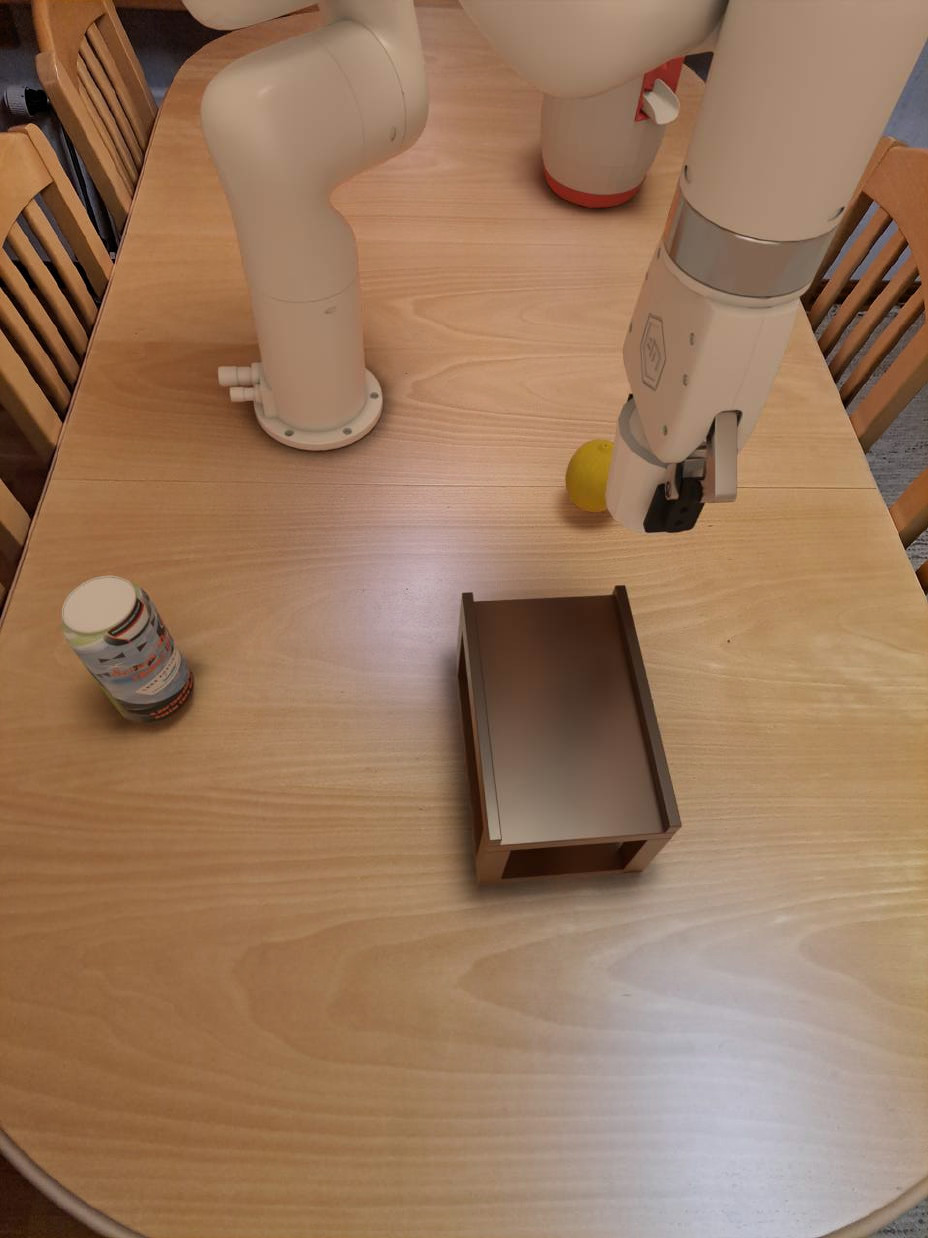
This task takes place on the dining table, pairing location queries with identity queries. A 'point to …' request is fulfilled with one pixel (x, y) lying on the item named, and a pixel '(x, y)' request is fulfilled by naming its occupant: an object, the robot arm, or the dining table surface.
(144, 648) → the beverage can
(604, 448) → the lemon
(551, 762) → the rack
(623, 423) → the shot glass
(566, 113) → the citrus juicer
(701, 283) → the robot arm
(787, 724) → the dining table surface
